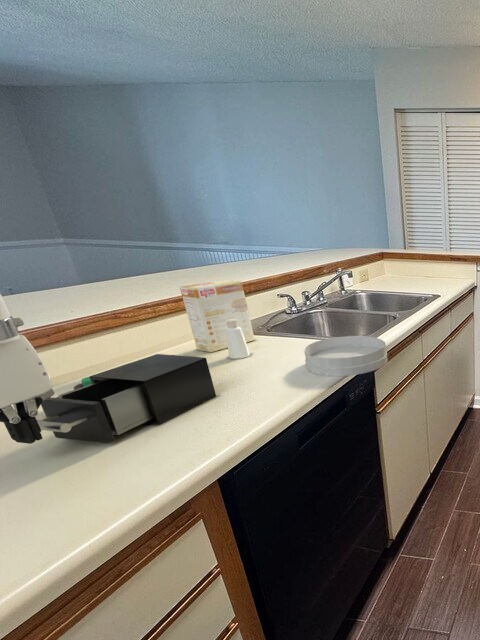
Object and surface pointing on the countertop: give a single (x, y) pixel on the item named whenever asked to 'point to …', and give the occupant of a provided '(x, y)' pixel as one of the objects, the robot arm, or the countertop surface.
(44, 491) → the countertop surface
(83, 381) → the button
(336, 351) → the dish
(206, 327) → the coffeecake box
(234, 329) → the salt shaker
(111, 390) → the drawer
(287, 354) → the countertop surface
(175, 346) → the countertop surface
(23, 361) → the robot arm
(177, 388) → the cabinet
